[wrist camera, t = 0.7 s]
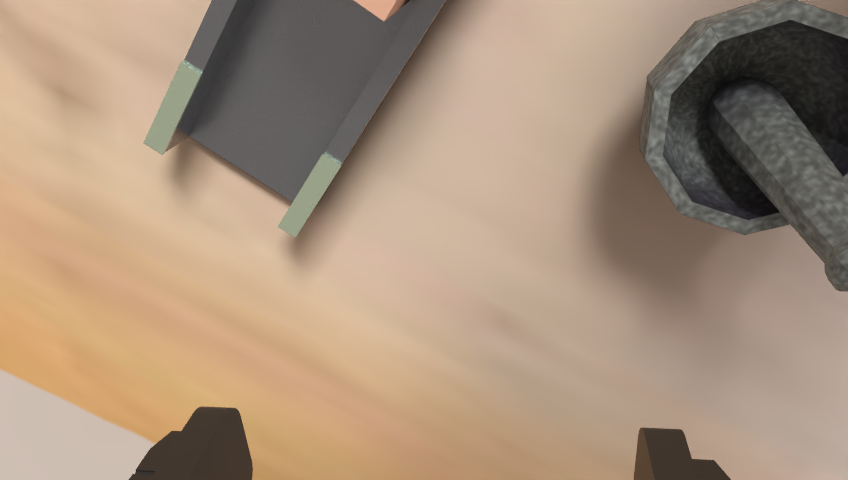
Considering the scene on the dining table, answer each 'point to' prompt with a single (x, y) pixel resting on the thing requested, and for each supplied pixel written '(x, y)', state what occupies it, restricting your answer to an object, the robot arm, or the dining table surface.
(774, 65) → the mortar and pestle
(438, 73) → the dining table surface
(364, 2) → the terracotta block
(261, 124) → the chute
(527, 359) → the dining table surface
